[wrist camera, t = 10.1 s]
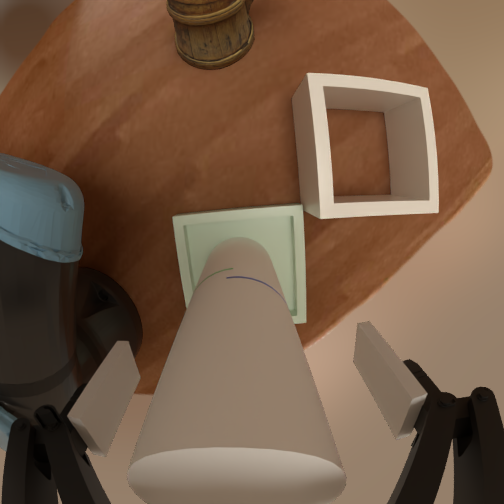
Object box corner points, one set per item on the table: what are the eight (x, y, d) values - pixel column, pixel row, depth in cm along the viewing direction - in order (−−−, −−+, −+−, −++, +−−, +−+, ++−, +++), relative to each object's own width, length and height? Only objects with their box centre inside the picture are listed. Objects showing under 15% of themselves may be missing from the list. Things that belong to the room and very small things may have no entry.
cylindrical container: (269, 301, 32) (316, 523, 7) (205, 297, 31) (149, 517, 7) (275, 239, 30) (379, 435, 6) (207, 234, 29) (99, 425, 5)
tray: (194, 321, 33) (191, 332, 31) (177, 213, 30) (172, 216, 27) (302, 312, 33) (306, 322, 31) (297, 203, 30) (302, 204, 28)
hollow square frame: (301, 209, 30) (320, 219, 22) (291, 98, 27) (307, 72, 19) (399, 204, 30) (438, 212, 22) (390, 104, 27) (427, 88, 19)
